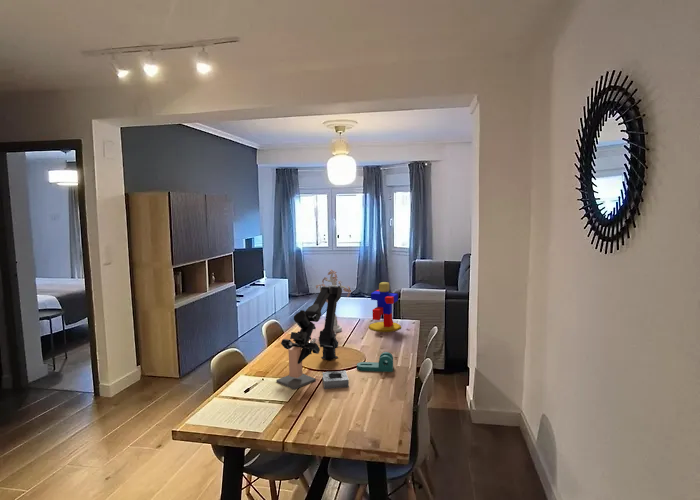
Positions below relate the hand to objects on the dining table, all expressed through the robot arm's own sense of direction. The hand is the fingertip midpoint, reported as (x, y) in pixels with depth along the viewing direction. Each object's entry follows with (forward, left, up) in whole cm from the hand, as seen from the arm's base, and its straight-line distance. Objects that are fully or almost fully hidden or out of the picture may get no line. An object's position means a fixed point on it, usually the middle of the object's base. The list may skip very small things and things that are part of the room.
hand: (293, 362), depth 201 cm
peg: (-1, 0, -7) cm, 7 cm away
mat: (-1, 0, -9) cm, 10 cm away
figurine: (-97, -25, -10) cm, 100 cm away
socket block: (-12, +15, -9) cm, 21 cm away
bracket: (-37, +17, -10) cm, 42 cm away
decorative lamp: (-69, -44, -10) cm, 82 cm away
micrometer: (-43, -34, -10) cm, 56 cm away
